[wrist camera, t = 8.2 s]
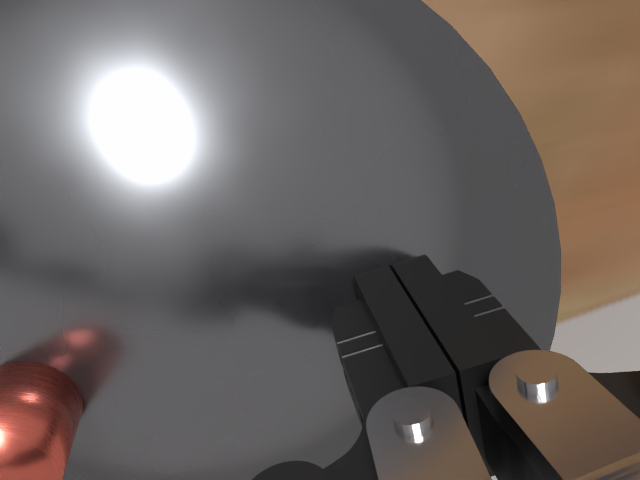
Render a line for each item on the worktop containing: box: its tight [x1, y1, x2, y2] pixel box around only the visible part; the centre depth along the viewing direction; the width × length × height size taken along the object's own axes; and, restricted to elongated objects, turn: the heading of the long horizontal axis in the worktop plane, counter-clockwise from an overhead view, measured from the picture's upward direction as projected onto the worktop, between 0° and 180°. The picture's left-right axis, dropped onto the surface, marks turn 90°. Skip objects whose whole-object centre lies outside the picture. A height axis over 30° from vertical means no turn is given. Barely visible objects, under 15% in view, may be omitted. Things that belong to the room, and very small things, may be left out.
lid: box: [0, 0, 561, 480], centre depth 11 cm, size 20×17×3 cm
